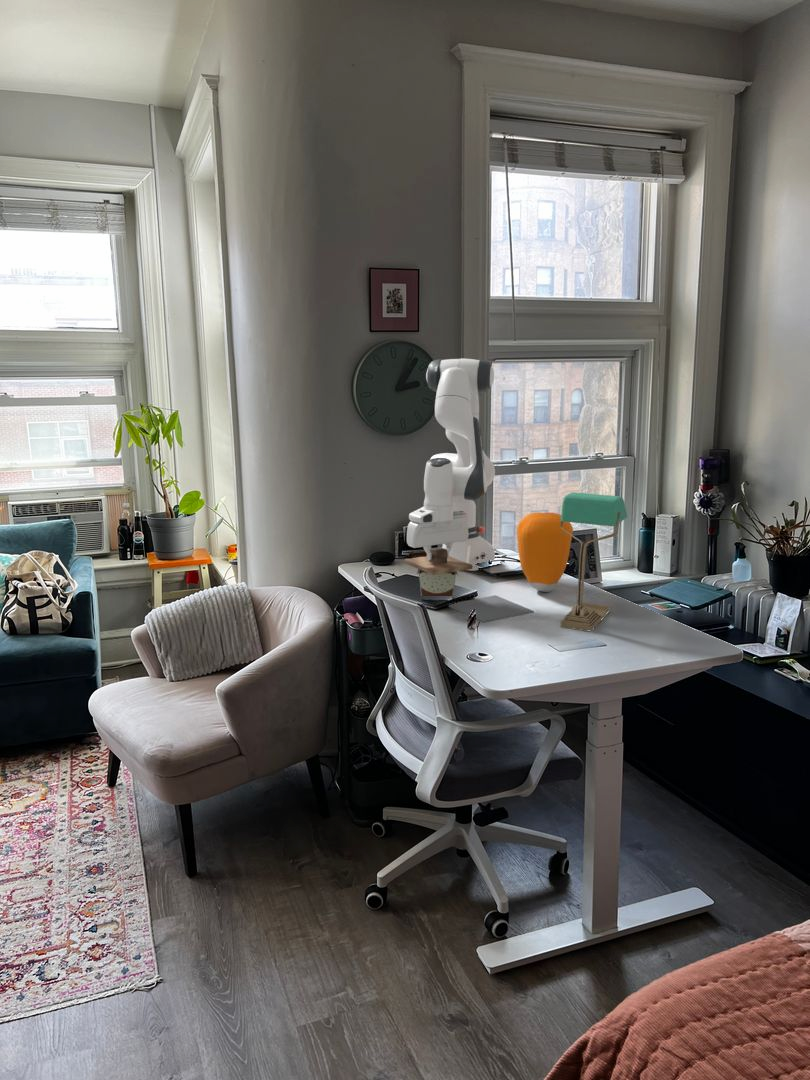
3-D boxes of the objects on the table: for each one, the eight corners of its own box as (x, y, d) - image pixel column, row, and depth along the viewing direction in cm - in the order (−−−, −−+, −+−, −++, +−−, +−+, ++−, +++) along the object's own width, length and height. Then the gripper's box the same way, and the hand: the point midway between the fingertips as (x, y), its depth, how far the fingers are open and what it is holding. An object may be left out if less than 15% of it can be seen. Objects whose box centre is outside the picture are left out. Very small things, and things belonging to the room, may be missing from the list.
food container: (458, 595, 250) (458, 563, 248) (457, 601, 244) (458, 569, 242) (418, 594, 251) (418, 562, 249) (416, 600, 245) (416, 567, 243)
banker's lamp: (547, 624, 223) (553, 499, 215) (569, 604, 241) (575, 487, 233) (604, 633, 216) (612, 504, 208) (623, 612, 234) (631, 492, 226)
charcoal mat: (495, 596, 249) (495, 595, 249) (533, 612, 234) (533, 610, 234) (446, 605, 240) (446, 604, 240) (483, 622, 225) (483, 621, 225)
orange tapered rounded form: (505, 586, 260) (507, 509, 254) (551, 581, 266) (555, 506, 260) (532, 601, 244) (535, 520, 238) (580, 596, 250) (585, 516, 244)
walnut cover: (442, 557, 256) (442, 541, 255) (472, 568, 242) (472, 551, 241) (404, 563, 249) (404, 546, 248) (432, 575, 235) (433, 557, 234)
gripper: (461, 508, 250) (460, 552, 253) (404, 514, 240) (403, 560, 243) (473, 511, 245) (472, 556, 248) (415, 518, 234) (415, 565, 237)
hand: (437, 558), depth 245 cm, fingers closed on walnut cover, 4 cm apart
